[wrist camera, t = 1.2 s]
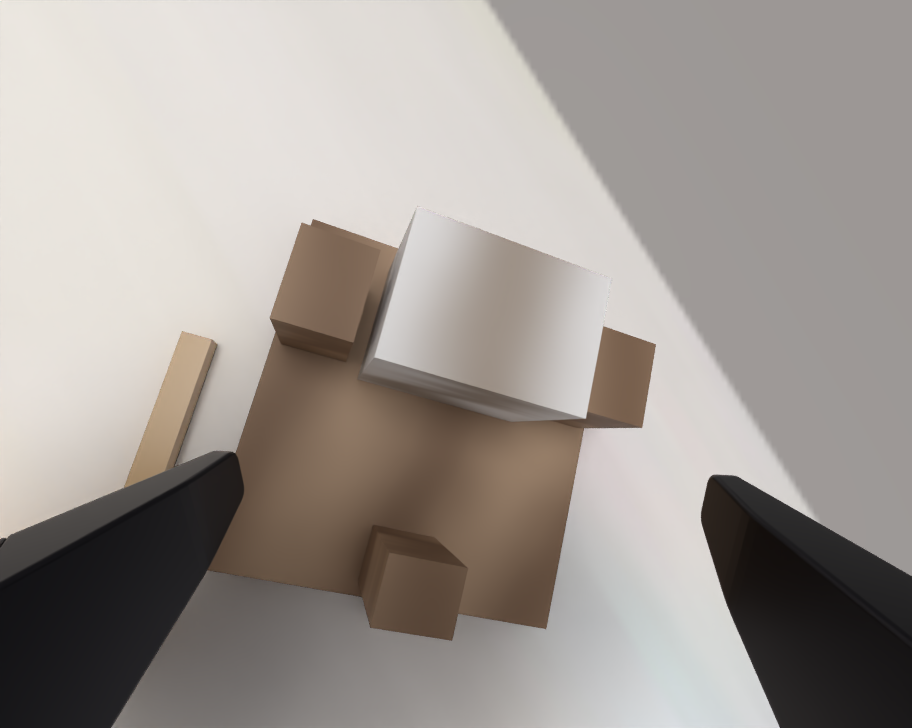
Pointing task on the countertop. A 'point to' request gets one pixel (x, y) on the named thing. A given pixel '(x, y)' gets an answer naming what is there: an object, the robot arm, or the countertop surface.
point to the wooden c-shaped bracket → (173, 407)
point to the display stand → (427, 423)
